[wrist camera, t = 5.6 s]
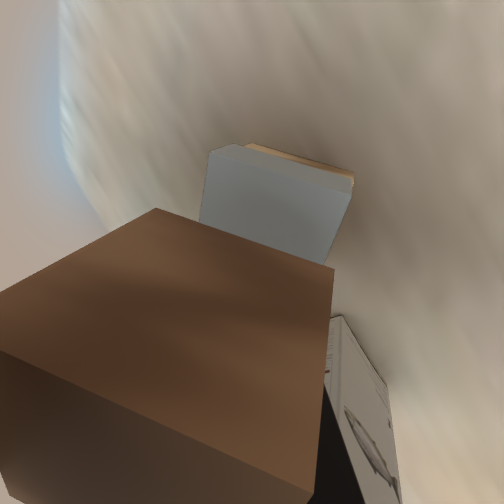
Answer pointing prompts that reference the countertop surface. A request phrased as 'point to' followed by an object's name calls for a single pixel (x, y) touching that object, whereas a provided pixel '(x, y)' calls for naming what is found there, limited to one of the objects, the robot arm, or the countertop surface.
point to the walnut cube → (164, 370)
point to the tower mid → (274, 201)
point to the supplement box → (362, 415)
